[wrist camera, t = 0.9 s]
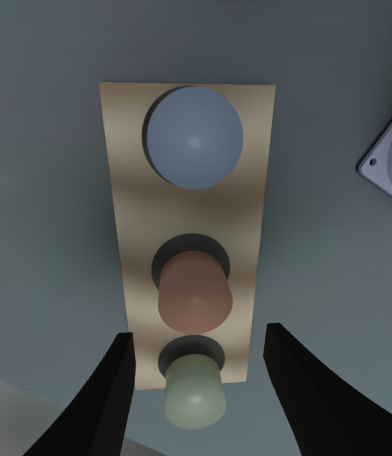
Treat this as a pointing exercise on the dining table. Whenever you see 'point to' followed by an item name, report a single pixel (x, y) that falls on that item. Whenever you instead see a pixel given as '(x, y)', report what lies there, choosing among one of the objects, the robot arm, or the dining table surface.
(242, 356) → the button panel
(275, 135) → the dining table surface
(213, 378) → the sage button
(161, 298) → the terracotta button
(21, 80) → the dining table surface
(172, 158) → the slate button
